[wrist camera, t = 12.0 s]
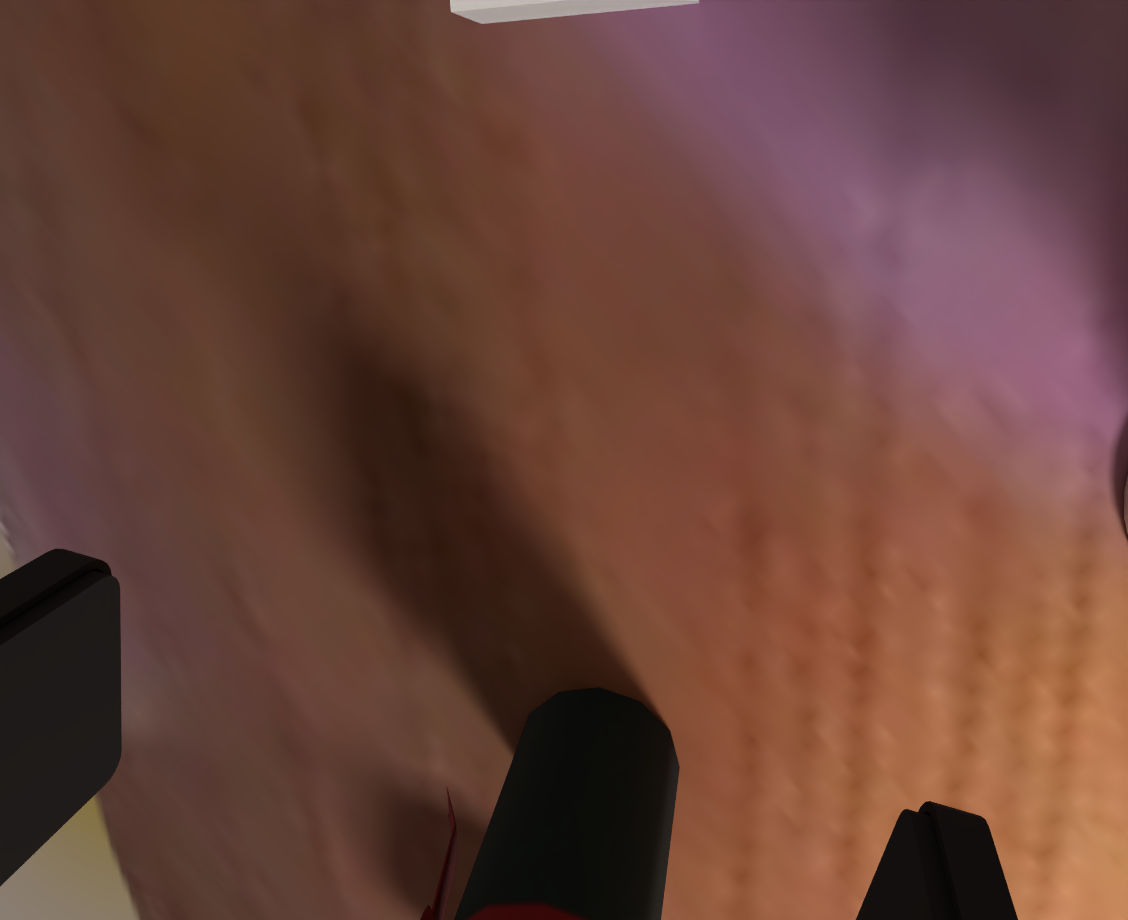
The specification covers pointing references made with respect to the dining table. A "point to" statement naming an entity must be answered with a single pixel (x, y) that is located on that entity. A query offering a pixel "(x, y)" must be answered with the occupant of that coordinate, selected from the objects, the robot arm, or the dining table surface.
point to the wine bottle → (576, 818)
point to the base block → (547, 8)
